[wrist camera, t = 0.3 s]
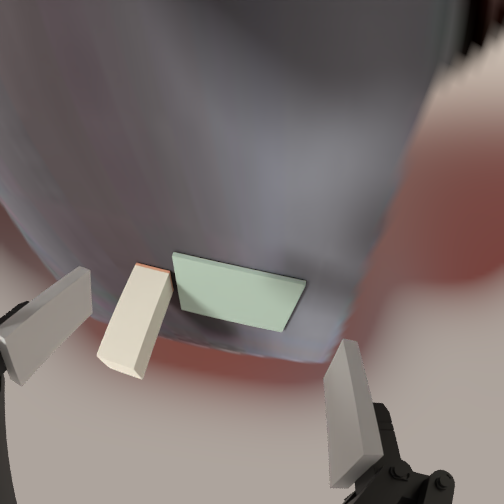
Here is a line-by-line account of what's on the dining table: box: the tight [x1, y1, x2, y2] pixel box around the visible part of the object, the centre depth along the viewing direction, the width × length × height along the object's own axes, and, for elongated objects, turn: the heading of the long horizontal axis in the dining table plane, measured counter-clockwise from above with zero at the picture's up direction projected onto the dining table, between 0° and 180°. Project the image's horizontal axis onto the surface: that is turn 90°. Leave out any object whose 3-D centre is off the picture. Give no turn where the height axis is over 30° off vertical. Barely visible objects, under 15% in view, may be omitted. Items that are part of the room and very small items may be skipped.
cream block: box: [97, 263, 174, 379], centre depth 37 cm, size 5×5×14 cm
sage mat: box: [172, 252, 306, 332], centre depth 41 cm, size 14×16×1 cm
